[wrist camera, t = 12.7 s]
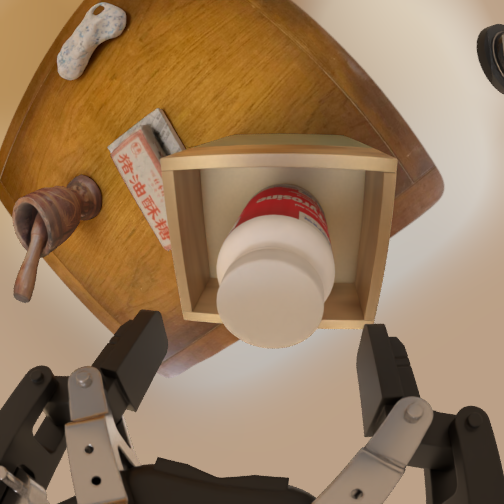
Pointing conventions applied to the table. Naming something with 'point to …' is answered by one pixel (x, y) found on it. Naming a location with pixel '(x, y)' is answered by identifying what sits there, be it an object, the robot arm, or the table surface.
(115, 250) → the table surface
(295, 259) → the pill bottle
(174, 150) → the packaged product
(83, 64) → the decorative stone
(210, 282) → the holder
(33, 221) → the mortar and pestle
